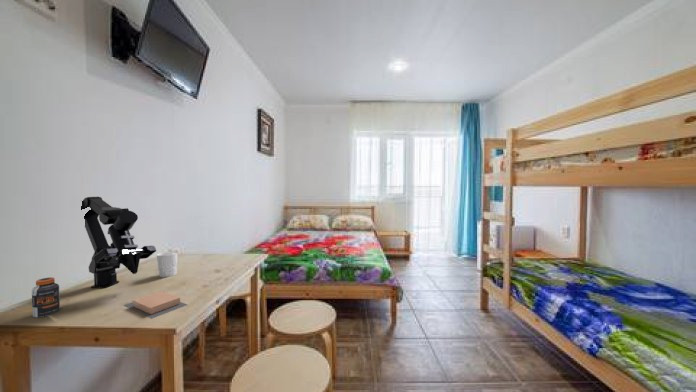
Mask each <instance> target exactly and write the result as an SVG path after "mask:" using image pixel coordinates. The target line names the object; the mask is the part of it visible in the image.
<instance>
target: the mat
mask: <svg viewBox="0 0 696 392" xmlns="http://www.w3.org/2000/svg"><path fill="white" fill-rule="evenodd" d="M123 306H124V307H126V308H129V309H130V310H132V311H134V312H137V313H138V314H141V315H143V316H145V317H148V318H149V319H155V318H157V317H159V316H162V315H165V314H167V313H168V314H169V313H170V312H172V311H176V310H178V309H181V308H184V307H186V306H188V304H187V303H185V302H182V301H180V304H178V305H175V306H172V307H170V308H167V309H164V310H162V311H159V312H156V313H153V314H149V313H147V312H145V311H143V310H140V309H138V308H136V307H134V306H133V303H132V302H128V303H125V304H123Z"/></svg>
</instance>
